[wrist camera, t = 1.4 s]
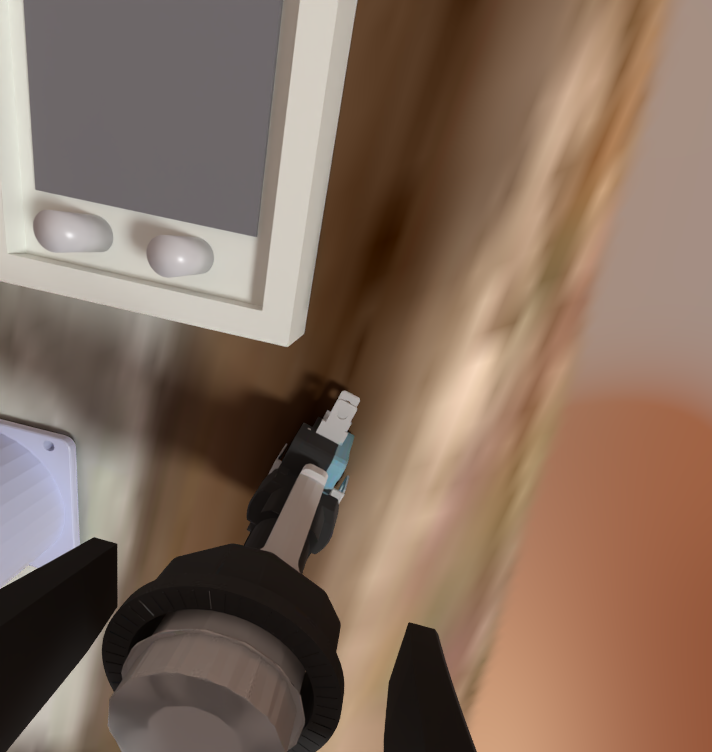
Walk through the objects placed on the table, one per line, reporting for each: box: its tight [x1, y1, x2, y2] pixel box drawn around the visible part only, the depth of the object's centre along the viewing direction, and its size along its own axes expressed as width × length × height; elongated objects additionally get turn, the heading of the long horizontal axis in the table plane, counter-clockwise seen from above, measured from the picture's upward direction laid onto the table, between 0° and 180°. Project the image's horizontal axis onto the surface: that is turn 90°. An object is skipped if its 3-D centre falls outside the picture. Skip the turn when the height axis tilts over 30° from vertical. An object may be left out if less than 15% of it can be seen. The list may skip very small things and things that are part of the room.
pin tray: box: [0, 0, 357, 347], centre depth 11 cm, size 11×16×3 cm
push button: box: [102, 390, 360, 752], centre depth 12 cm, size 7×5×10 cm
